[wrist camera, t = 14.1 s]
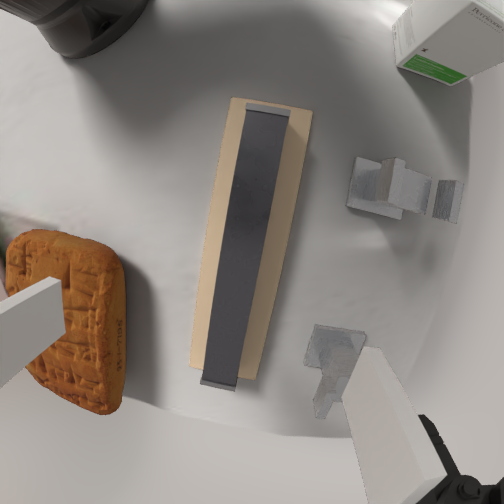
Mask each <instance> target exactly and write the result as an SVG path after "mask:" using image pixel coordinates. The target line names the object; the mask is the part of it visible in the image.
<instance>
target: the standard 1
mask: <svg viewBox="0 0 504 504" xmlns="http://www.w3.org/2000/svg"><path fill="white" fill-rule="evenodd" d="M365 338H366V333H365V332H362V331H355V330H348V329H341V328H334V327H327V326H321V325H315V327H314V331H313V334H312V337H311V340H310V343H309V347H308V350H307V353H306V356H305V359H304V366H312V367H320V368H321V370H322V374H323V377H322V379H321V382H320V384H319V387H318V389H317V392H316V394H315V396H314V399H313V403H314V409H315V415H316V418H321V419H325V417H326V415H327V413H328V411H329V409H330V407H331V405H332V403H333V402H342V398H341V397H342V395H343V393H344V390H345V388H346V386H347V384H348V382H349V379H350V377H351V375H352V372H353V370H354V368H355V365H356V363H357V361H358V358H359V353H360V351H361V348H362V346H363V343H364V341H365Z"/></svg>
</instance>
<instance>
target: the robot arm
mask: <svg viewBox="0 0 504 504" xmlns="http://www.w3.org/2000/svg"><path fill="white" fill-rule="evenodd" d="M147 1H148V0H0V9H2V10H4V11H7V12H9V13H11V14H13V15H16V16H18V17H20V18H22V19H24V20H26V21H28V22H30V23H32V24H34V25H36V26H37V28H38V29H39V31H40V32H41V33H42V35H43V36H44V38H45V39H46V40H47V42H48V43H49V45H50V47H51V48H52V49H53V50H54V51H55V52H57V53H59V54H61V55H63V56H65V57H68V58H81V57H85V56H89V55H91V54H94V53H96V52H98V51H100V50H102V49H103V48H105V47H107V46H108V45H110V44H111V43H112V42H114V41H115V40H116V39H118V38H119V37H120V36H121V35H122V34H123V33H125V32H126V31H127V30H128V29H129V28H130V27H131V26H132V24H133V23H134V22H135V21H136V20H137V18H138V17H139V16H140V14H141V13H142V11H143V10H144V8H145V6H146V4H147ZM65 333H66V330H65V322H64V313H63V303H62V289H61V280H59V279H56V278H53V277H50V276H49V277H47V278H45V279H43V280H41V281H39V282H37V283H35V284H33V285H32V286H30V287H28V288H26V289H24V290H22V291H20V292H18V293H16V294H14V295H12V296H10V297H9V298H7V299H5V300H3V301H1V302H0V388H2V387H3V386H4V385H5V384H6V383H7V382H8V381H9V380H11V379H12V378H13V377H14V376H15V375H16V374H17V373H18V372H20V371H21V370H22V369H23V368H24V367H25V366H27V365H28V364H29V363H30V362H31V361H32V360H34V359H35V358H36V357H37V356H38V355H39V354H41V353H42V352H43V351H44V350H45V349H47V348H48V347H49V346H50V345H51V344H53V343H54V342H55V341H56V340H58V339H59V338H60V337H61V336H62V335H64V334H65ZM341 398H342V402H343V405H344V409H345V412H346V416H347V420H348V423H349V427H350V431H351V435H352V438H353V441H354V446H355V450H356V454H357V458H358V462H359V466H360V470H361V474H362V478H363V483H364V487H365V491H366V496H367V500H368V504H504V477H503V478H502V479H501V480H500V481H499V482H498V483H497V484H496V485H481V484H480V483H479V481H478V480H477V479H475V478H474V477H472V476H468V475H460V473H459V471H458V469H457V467H456V465H455V463H454V461H453V459H452V457H451V455H450V453H449V451H448V449H447V447H446V445H445V444H443V440H442V438H441V436H439V432H438V431H437V429H436V427H435V425H434V423H432V422H431V421H430V420H429V419H428V418H427V417H426V416H425V415H417V413H416V411H415V409H414V408H413V406H412V404H411V402H410V400H409V399H408V397H407V395H406V393H405V391H404V389H403V388H402V386H401V384H400V382H399V380H398V379H397V377H396V375H395V373H394V372H393V370H392V368H391V366H390V365H389V363H388V361H387V360H386V358H385V356H384V355H383V353H382V351H381V349H380V348H375V347H365V346H363V348H362V351H361V353H360V356H359V358H358V361H357V363H356V365H355V368H354V370H353V372H352V375H351V377H350V379H349V382H348V384H347V386H346V388H345V390H344V393H343V395H342V397H341Z"/></svg>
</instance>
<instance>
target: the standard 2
mask: <svg viewBox="0 0 504 504" xmlns="http://www.w3.org/2000/svg"><path fill="white" fill-rule="evenodd" d="M405 163H406V161H404V160H402V159H399V158H396V157H395V158H390V159H386V160H382V163H378V162H374V161H371V160H368V159H364V158H361V157H355V160H354V166H353V171H352V177H351V182H350V187H349V192H348V197H347V202H346V206H348V207H352V208H356V209H360V210H364V211H368V212H372V213H376V214H380V215H384V216H387V217H391V218H395V219H398V220H401V217H402V213H403V210H407V211H411V212H416V213H420V214H425V212H426V207H427V202H428V196H429V191H430V185H431V179H432V177H429V176H427V175H424V174H421V173H418V172H416V171H413V170H410V169H407V168H405ZM463 185H464V184H463V183H461V182H459V181H456V180H439V183H438V189H437V195H436V200H435V205H434V210H433V215H432V217H434V218H437V219H440V220H444V221H448V222H452V223H456V224H457V219H458V214H459V209H460V204H461V198H462V192H463Z"/></svg>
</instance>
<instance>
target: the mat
mask: <svg viewBox="0 0 504 504" xmlns="http://www.w3.org/2000/svg"><path fill="white" fill-rule="evenodd" d="M246 102H247V103H254V104H260V105H266V106H272V107H278V108H283V109H288V110H291V113H290V118H289V122H288V126H287V128H286V133H285V138H284V144H283V149H282V154H281V160H280V165H279V170H278V175H277V181H276V186H275V191H274V196H273V201H272V206H271V212H270V217H269V222H268V227H267V232H266V237H265V242H264V247H263V252H262V257H261V262H260V267H259V272H258V277H257V282H256V287H255V292H254V297H253V302H252V307H251V312H250V316H249V321H248V326H247V331H246V336H245V341H244V345H243V350H242V355H241V360H240V367H239V372H238V377H240V378H245V379H251V380H255V379H256V375H257V371H258V367H259V363H260V359H261V355H262V351H263V347H264V343H265V339H266V335H267V331H268V327H269V323H270V318H271V314H272V310H273V306H274V301H275V297H276V293H277V288H278V284H279V279H280V275H281V271H282V266H283V261H284V257H285V252H286V248H287V243H288V238H289V234H290V229H291V224H292V219H293V214H294V209H295V204H296V199H297V194H298V189H299V184H300V179H301V174H302V169H303V163H304V158H305V153H306V147H307V142H308V136H309V131H310V125H311V119H312V114H313V111H310V110H306V109H301V108H296V107H291V106H286V105H281V104H275V103H270V102H263V101H257V100H250V99H243V98H236V97H231V102H230V106H229V111H228V116H227V120H226V125H225V130H224V135H223V140H222V145H221V150H220V155H219V161H218V166H217V171H216V177H215V183H214V188H213V194H212V200H211V206H210V212H209V218H208V224H207V230H206V237H205V243H204V250H203V257H202V264H201V271H200V278H199V286H198V293H197V301H196V309H195V317H194V326H193V335H192V344H191V354H190V364H189V366H190V367H194V368H198V369H202V370H203V367H204V359H205V351H206V344H207V337H208V330H209V322H210V315H211V309H212V302H213V295H214V289H215V282H216V276H217V269H218V263H219V257H220V251H221V245H222V238H223V233H224V227H225V221H226V215H227V209H228V204H229V198H230V192H231V187H232V181H233V176H234V171H235V165H236V160H237V155H238V150H239V144H240V139H241V134H242V129H243V124H244V119H245V114H246V110H245V107H246Z"/></svg>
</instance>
